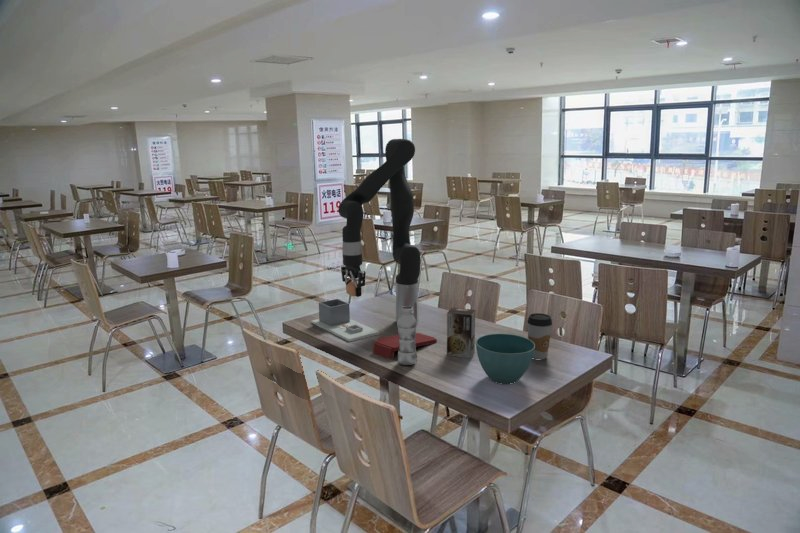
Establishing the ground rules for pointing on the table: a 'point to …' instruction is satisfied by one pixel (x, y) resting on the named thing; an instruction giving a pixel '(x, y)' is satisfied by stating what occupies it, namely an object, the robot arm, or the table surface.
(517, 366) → the teal bowl
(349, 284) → the ball
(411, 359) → the plastic bottle
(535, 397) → the table surface
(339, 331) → the ball rack
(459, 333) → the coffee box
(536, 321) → the coffee cup
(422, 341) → the carton
